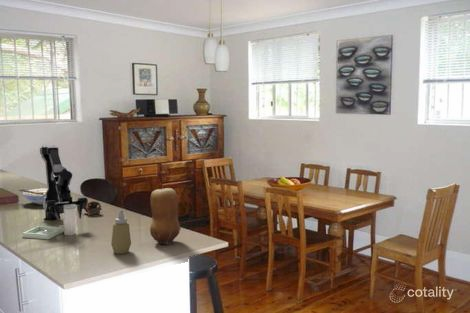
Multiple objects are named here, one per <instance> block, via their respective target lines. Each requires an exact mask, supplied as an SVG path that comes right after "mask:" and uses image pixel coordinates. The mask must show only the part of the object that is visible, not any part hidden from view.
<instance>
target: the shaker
mask: <svg viewBox="0 0 470 313" xmlns="http://www.w3.org/2000/svg"><path fill="white" fill-rule="evenodd" d="M63 207H64V213H63V233H64V236H73V235H74V236H75V235H76V234H77V216H76V215H77V213H76V211H77V205H75V204H66V205H63Z"/></svg>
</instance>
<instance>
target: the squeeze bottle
mask: <svg viewBox="0 0 470 313" xmlns="http://www.w3.org/2000/svg"><path fill="white" fill-rule="evenodd" d="M114 220H115V222H114V223H113V225H112V232H111V233H112V235H111V243H110V244H111V248H112V250H113V253H115V254H116V255H117V254H118V255H124V254H127V253H128V252H129V251H130V248H131V245H132V242H131V231H130V224H129V222H128V218H127V217H125V215H124V211H123V209H119V211H118V215H117V217H116V218H115V219H114Z"/></svg>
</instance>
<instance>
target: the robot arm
mask: <svg viewBox="0 0 470 313" xmlns="http://www.w3.org/2000/svg"><path fill="white" fill-rule="evenodd" d="M59 151H60V150H59V146H55V145H42V146H41V147H40V148H39V154H40V155H41V160H42V161H44V164H45V175H46V189H48V190H47V191H46V193H45V197H44V200H43V205H42V208H43V209H44V211H45V212H44V214H45V215H44V216H45V217H44V218H43V220H45V221H47V220H48V221H57V220H58V221H59V222H60V221H61V220H62V216H61V215H62V214H64V207H63V205H66V204H75V205H76V211H77V212H78V217H79V219H81V218H82V213H83V210H84V208H85V207H86V206H87V203H89V201H88V198H87V197H85V196H83V197H78V198H77V200H75V201H73V196H72V194H71V191H72V190H71V189H70V185H71V182H72V179H73V172H71V171H69V170H67V168H66V167H64V166H63V164H62V161H61V159H60V153H59Z"/></svg>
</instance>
